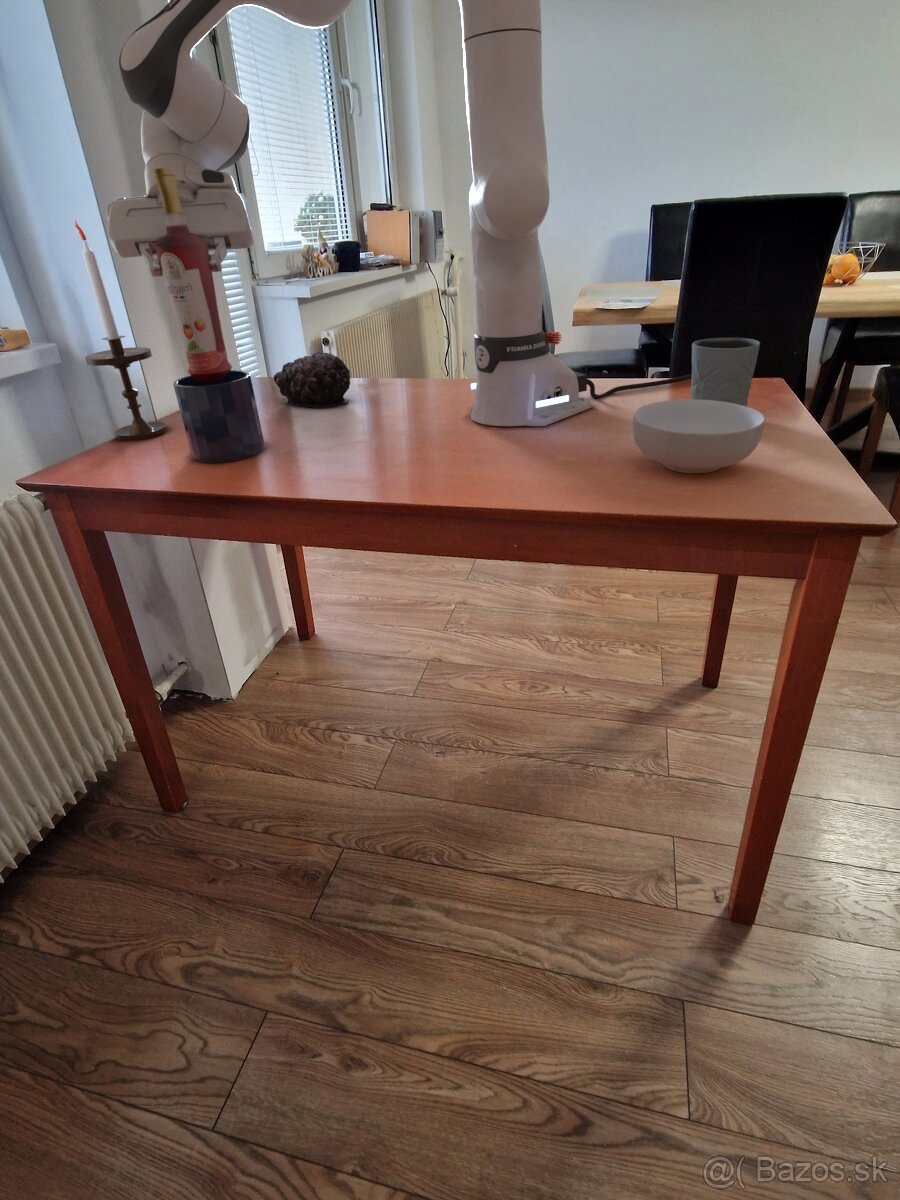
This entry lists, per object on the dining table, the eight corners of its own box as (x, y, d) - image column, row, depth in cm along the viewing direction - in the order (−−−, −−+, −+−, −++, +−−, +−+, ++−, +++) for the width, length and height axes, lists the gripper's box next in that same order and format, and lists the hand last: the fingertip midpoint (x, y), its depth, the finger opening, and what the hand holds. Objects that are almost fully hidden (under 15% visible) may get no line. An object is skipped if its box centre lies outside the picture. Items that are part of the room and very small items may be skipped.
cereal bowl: (692, 496, 84) (699, 440, 80) (605, 461, 96) (607, 412, 93) (784, 467, 90) (795, 414, 87) (691, 438, 103) (697, 392, 99)
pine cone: (289, 395, 145) (281, 347, 140) (361, 398, 139) (355, 347, 134) (261, 408, 137) (251, 357, 132) (336, 411, 131) (328, 358, 125)
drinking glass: (727, 430, 105) (739, 350, 99) (671, 419, 112) (679, 344, 106) (759, 415, 111) (772, 339, 105) (704, 406, 118) (713, 334, 112)
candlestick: (98, 439, 124) (26, 223, 106) (145, 423, 132) (85, 220, 114) (138, 444, 119) (70, 219, 101) (184, 427, 127) (128, 216, 110)
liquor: (244, 372, 108) (201, 167, 94) (218, 383, 102) (167, 166, 88) (206, 372, 110) (158, 171, 96) (178, 383, 104) (123, 170, 90)
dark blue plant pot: (251, 436, 119) (236, 366, 113) (275, 451, 111) (260, 377, 104) (184, 451, 114) (165, 379, 108) (204, 468, 105) (184, 390, 99)
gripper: (97, 181, 97) (103, 260, 93) (241, 173, 100) (252, 249, 96) (113, 217, 103) (120, 292, 99) (249, 208, 106) (260, 280, 102)
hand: (186, 271), depth 98 cm, fingers closed on liquor, 7 cm apart
